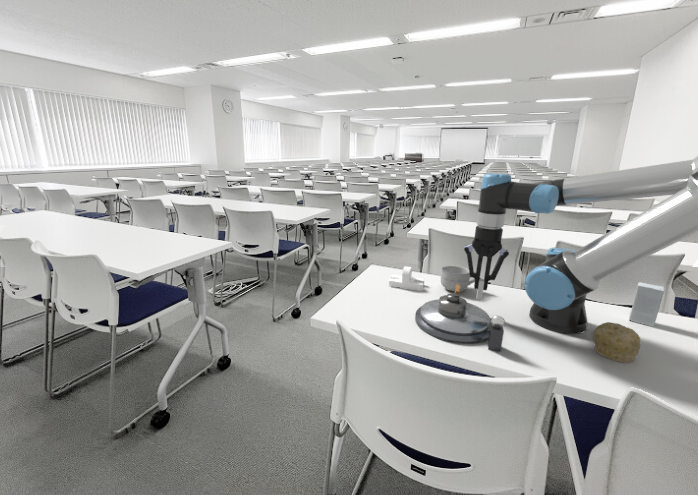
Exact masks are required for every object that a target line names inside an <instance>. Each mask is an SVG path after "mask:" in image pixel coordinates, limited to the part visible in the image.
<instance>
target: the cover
mask: <svg viewBox="0 0 698 495" xmlns="http://www.w3.org/2000/svg"><path fill="white" fill-rule="evenodd" d="M467 303H468V301H467V300H466V299H465V298H463V297H461V296H460V294H459V295H458V294H455V292H451V293H450V292H449V293H447V294H445V295H442V296H439V307H438V312H439V314H440V315H442V316H444V317H447V318H451V319H461V318H464V317H465V315H466V307H467Z"/></svg>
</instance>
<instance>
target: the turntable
mask: <svg viewBox="0 0 698 495" xmlns="http://www.w3.org/2000/svg"><path fill="white" fill-rule="evenodd" d="M459 289H460V285H459V284H456V289H455V291H454V294H458V295H459V296H460V291H459ZM421 306H422V307H421ZM421 306H420V307H421V313H420V315H421V319H422V320H423V321H424V322H425V323H426V324H427V325H428V326H430V327H432V328H433V329H436V330H438V331H441V332H444V333H447V334H452V335H459V336H472V335H478V334H481V333H484V332H485V331H487V330H488V328H489V324H490V318H491V317H490V315H489V314H488V313H487V312H486V311H485V310H484V309H483V308H481V307H479V306H478V305H475V304H472V303H469V302H467V307H466V315H465V317H464V318H461V319H451V318H447V317H444V316H442V315H440V314H439V312H438V307H439V299H432V300H429V301H427V302H425V303H423V304H422V305H421Z"/></svg>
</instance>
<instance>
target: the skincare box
mask: <svg viewBox="0 0 698 495" xmlns="http://www.w3.org/2000/svg"><path fill="white" fill-rule="evenodd" d="M664 293H665V287H664V286H661V285H656V284H655V285H654V284H649V283H645V282H640V281H639V282H638V284H637V287H636V292H635V295H634V298H633V302H632V307H631V310H630V314H629V317H628V321H629V320H631V321H630V322H632V321H634V322H633V323H636V322H638V323H637V324H640V323H641V324H640V325H644V324H645V326H649V327H652V328H654V327H655V325H656V320H657V317H658V313H659V311H660V307H661V303H662V300H663V296H664Z"/></svg>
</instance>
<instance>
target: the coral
mask: <svg viewBox="0 0 698 495" xmlns="http://www.w3.org/2000/svg"><path fill="white" fill-rule="evenodd" d="M592 337H593V343H594V344H593V345H594V346H593V347H594V350H595V351H596V352H597V353H598V354H600V355H601V356H603V357H605V358H607V359H610V360H612V361H615V362H618V363H619V362H620V363H623V364H624V363H625V364H630V363H633V362H634V361H635V359H637V356H638V355H639V351H640V349H641V337H640V335H639V334H638V332H637V331H635V330H634V329H632V328H630V327H626V326H625V325H622V324H620V323H618V322H617V323H616V322H610V321H606V322H603V323H602V324H600V325H597V326H596V328H595V329H594V330H593V336H592Z"/></svg>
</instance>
